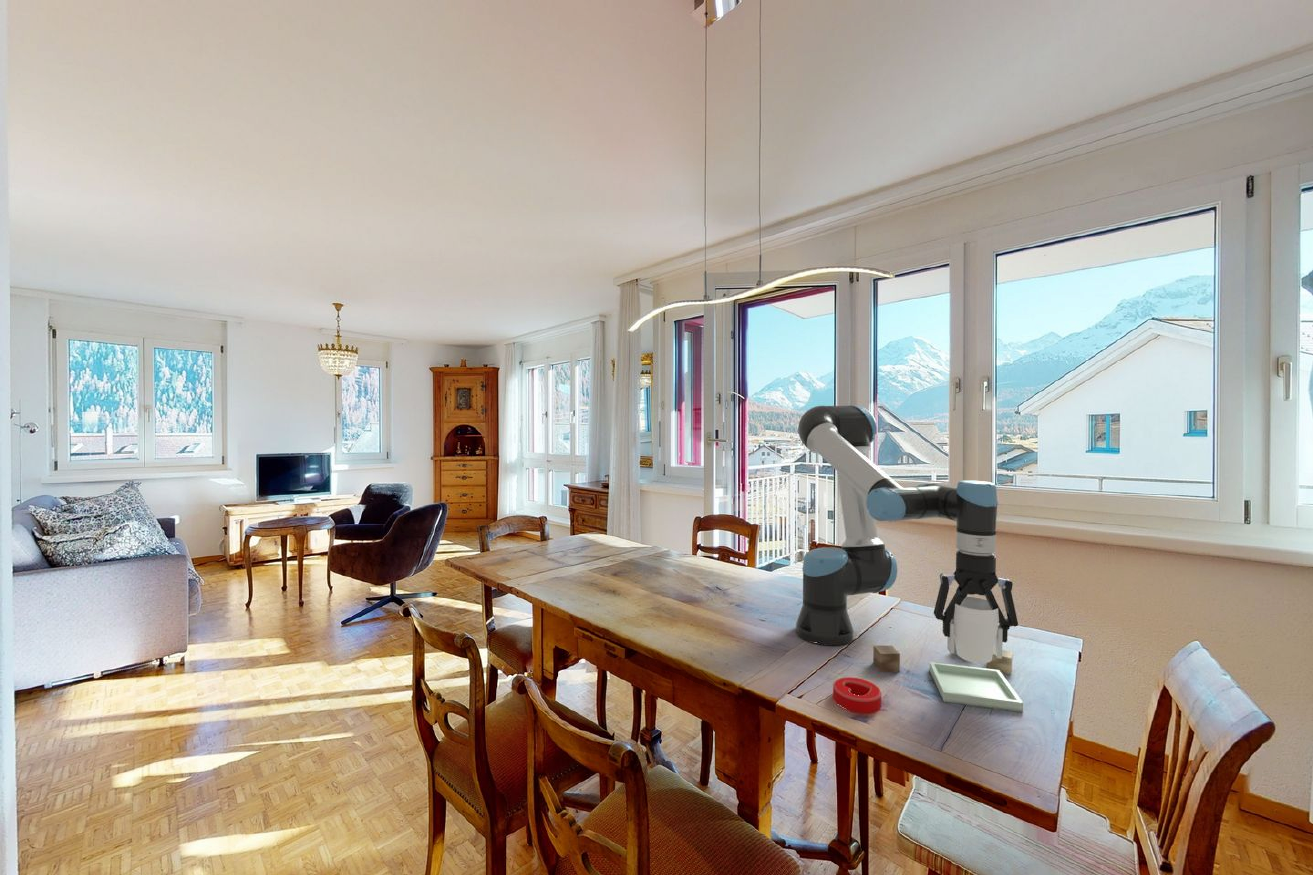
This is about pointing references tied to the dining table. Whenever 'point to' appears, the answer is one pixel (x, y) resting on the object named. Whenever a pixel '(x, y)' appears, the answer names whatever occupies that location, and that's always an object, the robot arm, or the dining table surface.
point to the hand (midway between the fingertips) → (974, 653)
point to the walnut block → (886, 658)
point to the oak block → (1001, 662)
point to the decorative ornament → (860, 704)
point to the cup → (975, 629)
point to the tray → (975, 687)
